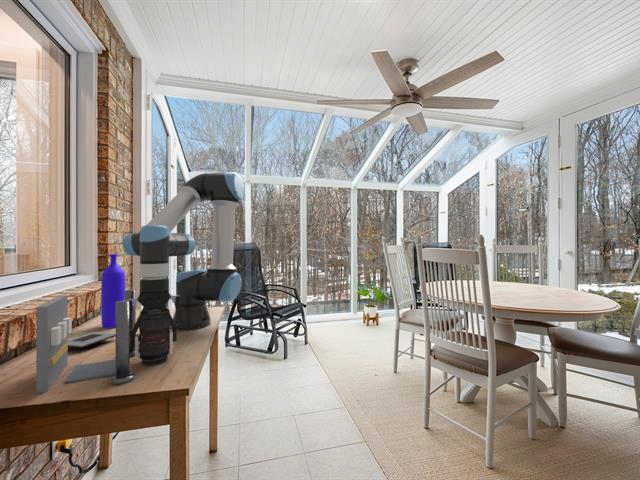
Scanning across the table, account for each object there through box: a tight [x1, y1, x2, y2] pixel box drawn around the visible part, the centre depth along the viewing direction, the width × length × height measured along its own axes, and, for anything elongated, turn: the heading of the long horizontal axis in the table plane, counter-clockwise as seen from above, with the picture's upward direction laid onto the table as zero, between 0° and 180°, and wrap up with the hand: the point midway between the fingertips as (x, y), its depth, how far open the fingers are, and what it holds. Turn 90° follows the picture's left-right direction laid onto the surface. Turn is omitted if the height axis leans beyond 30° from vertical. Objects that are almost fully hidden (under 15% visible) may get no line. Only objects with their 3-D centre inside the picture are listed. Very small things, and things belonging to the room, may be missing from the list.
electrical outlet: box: [67, 331, 116, 350], centre depth 103 cm, size 13×10×2 cm
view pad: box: [64, 359, 116, 385], centre depth 82 cm, size 11×11×1 cm
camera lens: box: [138, 308, 171, 367], centre depth 89 cm, size 8×8×15 cm
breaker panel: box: [35, 294, 73, 394], centre depth 78 cm, size 3×17×20 cm, turn 28°
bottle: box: [100, 253, 126, 329], centre depth 127 cm, size 8×8×30 cm
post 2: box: [124, 289, 137, 358], centre depth 94 cm, size 5×5×20 cm
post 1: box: [110, 300, 135, 386], centre depth 77 cm, size 5×5×20 cm
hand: (154, 355), depth 89 cm, fingers closed on camera lens, 8 cm apart
